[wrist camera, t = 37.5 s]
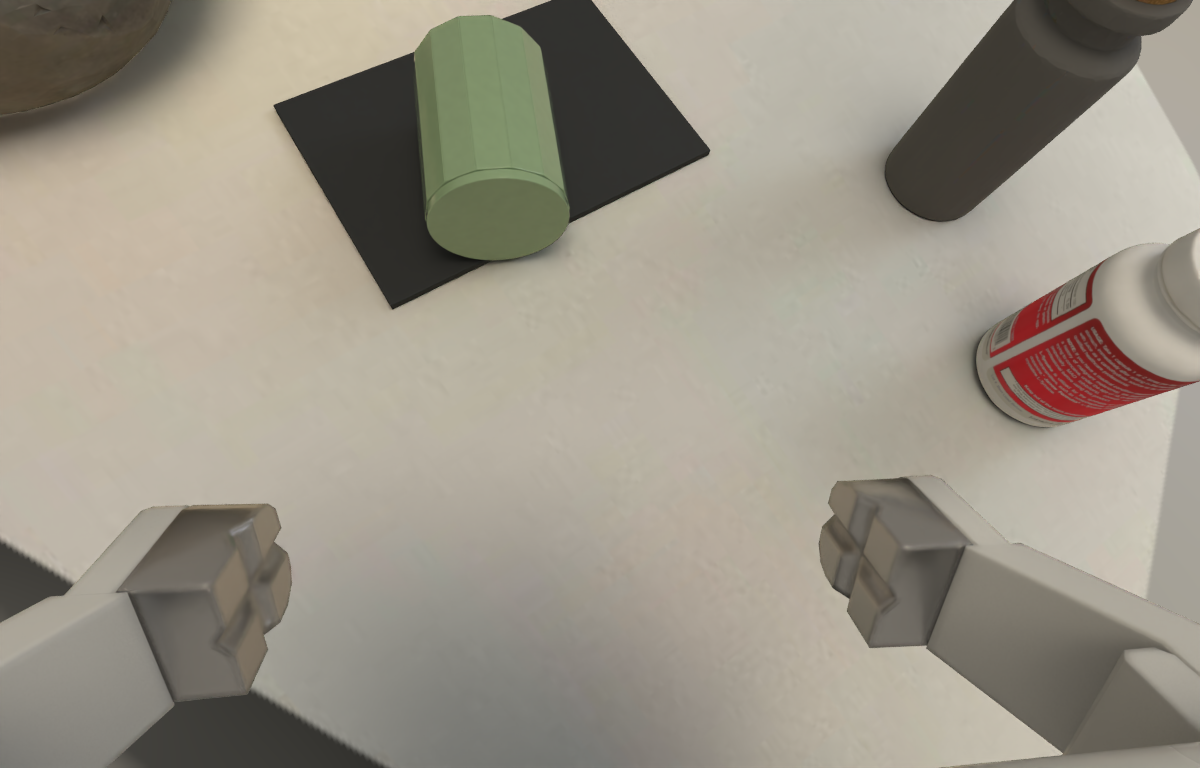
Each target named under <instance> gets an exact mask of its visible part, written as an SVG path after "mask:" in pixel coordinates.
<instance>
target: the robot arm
mask: <svg viewBox="0 0 1200 768" xmlns="http://www.w3.org/2000/svg"><path fill="white" fill-rule="evenodd" d="M828 504H829V506H830V507H831V509H832V511H833V512H834V515H833V516H832V517H831V518H830V519H829V520H828V521H827V522H826V523H825V524H824V525H823V526H822V530H821V535H820V540H819V552H820V562H821V565H822V568H823V571H824V574H825V576H826V578H827V579H828V581H829V583H830V584H831V586H832V588H834V589H835V590H837V591H838V592H840V593H841V594H843V595H844V596H846V597H847V598H849V603H848V608H847V612H848V614H849V615H850V617H851V619H852V620H853V622H854V624H855V625H856V627H857V628H858V630H859V632H860V633H861V635H862V636H863V638H864V640H865V641H866V643H867V644H868V646H869V648H880V647H902V646H924V645H927V647H926V649H928V650H929V651H930V652H932V653H933V654H934V655H936V656H937V657H938V658H940V659H941V660H942V661H943V662H945V663H946V664H947V665H949V666H950V667H951V668H953V669H954V670H955V671H957V672H958V673H959V674H960V675H962V676H963V677H964V678H966V679H967V680H968V681H970V682H971V683H972V684H973V685H975V686H976V687H977V688H979V689H980V690H981V691H983V692H984V693H985V694H987V695H988V696H989V697H990V698H992V699H993V700H994V701H996V702H997V703H998V704H1000V705H1001V706H1002V707H1004V708H1005V709H1006V710H1007V711H1009V712H1010V713H1011V714H1013V715H1014V716H1015V717H1017V718H1018V719H1019V720H1021V721H1022V722H1023V723H1024V724H1026V725H1027V726H1028V727H1030V728H1031V729H1032V730H1034V731H1035V732H1036V733H1037V734H1039V735H1040V736H1041V737H1043V738H1044V739H1045V740H1047V741H1048V742H1049V743H1051V744H1052V745H1053V746H1054V747H1056V748H1057V749H1058V750H1060V751H1061V752H1062V753H1063V754H1062V755H1061V756H1051V757H1041V758H1031V759H1021V760H1011V761H1001V762H991V763H981V764H971V765H960V766H951V767H941V768H1200V624H1199V623H1197V622H1194V621H1192V620H1190V619H1188V618H1185V617H1183V616H1181V615H1179V614H1177V613H1174V612H1172V611H1170V610H1168V609H1166V608H1163V607H1161V606H1159V605H1156V604H1154V603H1152V602H1150V601H1148V600H1146V599H1143V598H1141V597H1139V596H1137V595H1135V594H1132V593H1130V592H1128V591H1126V590H1123V589H1121V588H1119V587H1117V586H1115V585H1112V584H1110V583H1108V582H1106V581H1104V580H1101V579H1099V578H1097V577H1095V576H1092V575H1090V574H1088V573H1086V572H1084V571H1081V570H1079V569H1077V568H1075V567H1073V566H1070V565H1068V564H1066V563H1064V562H1061V561H1059V560H1057V559H1055V558H1053V557H1050V556H1048V555H1046V554H1044V553H1041V552H1039V551H1037V550H1035V549H1033V548H1030V547H1028V546H1026V545H1024V544H1022V543H1012V544H1011V543H1010V542H1008V541H1007V540H1006V539H1005V538H1004V537H1003V536H1002V535H1001V534H1000V533H999V532H998V531H997V530H996V529H995V528H994V527H992V526H991V525H990V524H989V523H988V522H987V521H986V520H985V519H984V518H983V517H982V516H981V515H980V514H979V513H977V512H976V511H975V510H974V509H973V508H972V507H971V506H970V505H969V504H968V503H967V502H966V501H965V500H964V499H963V498H961V497H960V496H959V495H958V494H957V493H956V492H955V491H954V490H953V489H952V488H951V487H950V486H949V485H948V484H946V483H945V482H944V481H943V480H942V479H940V478H938V477H935V476H933V475H923V476H909V477H900V478H894V479H873V480H852V481H837V483H836V484H835V485H834V487H833V488H832V490H831V494H830V497H829V501H828ZM280 529H281V525H280V522H279V518H278V515H277V512H276V509H275V508H274V507H272V506H271V505H269V504H225V505H192V506H186V505H185V506H158V507H151V508H148V509H145V510H142V511H141V512H140V513H139V514H138V515H137V516H136V517H135V518H134V519H133V520H132V522H131V523H130V524H129V525H128V526H127V527H126V528H125V529H124V530H123V531H122V533H121V534H120V535H119V536H118V537H117V538H116V539H115V540H114V541H113V542H112V544H111V545H110V546H109V547H108V548H107V549H106V550H105V551H104V552H103V553H102V555H101V556H100V557H99V558H98V559H97V560H96V561H95V562H94V563H93V564H92V566H91V567H90V568H89V569H88V570H87V571H86V572H85V573H84V574H83V575H82V577H81V578H80V579H79V580H78V581H77V582H76V583H75V584H74V585H73V586H72V588H71V589H70V590H69V591H68V592H67V593H66V594H65V595H64V596H52V597H48V598H46V599H44V600H42V601H41V602H39V603H37V604H35V605H33V606H31V607H30V608H27V609H25V610H24V611H22V612H20V613H18V614H16V615H14V616H12V617H10V618H9V619H7V620H5V621H3V622H1V623H0V768H107V767H108V766H109V765H110V764H111V763H112V762H113V761H114V760H115V759H116V758H117V757H118V756H120V755H121V754H122V753H123V752H124V751H125V750H126V749H127V748H128V747H130V746H131V745H132V744H133V743H134V742H135V741H136V740H137V739H138V738H139V737H140V736H142V735H143V734H144V733H145V732H146V731H147V730H148V729H149V728H150V727H151V726H153V725H154V724H155V723H156V722H157V721H158V720H159V719H160V718H161V717H162V716H164V715H165V714H166V713H167V712H168V711H169V710H170V709H171V708H172V707H173V706H174V702H177V701H187V700H196V699H207V698H216V697H226V696H235V695H246V694H248V692H249V690H250V688H251V686H252V683H253V681H254V679H255V677H256V675H257V673H258V670H259V668H260V666H261V664H262V662H263V660H264V657H265V655H266V653H267V651H268V648H267V644H266V641H265V637H264V635H265V634H266V633H267V632H269V631H270V630H271V629H272V628H274V627H275V626H276V625H278V624H279V623H280V622H281V620H282V618H283V615H284V613H285V611H286V608H287V606H288V602H289V596H290V591H291V585H292V576H291V564H290V560H289V556H288V553H287V552H286V551H285V550H283V549H282V548H281V547H280V546H279V545H277V544H276V543H275V542H274V541H275V539H276V537H277V535H278V533H279V531H280Z"/></svg>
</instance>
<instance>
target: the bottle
mask: <svg viewBox="0 0 1200 768" xmlns="http://www.w3.org/2000/svg"><path fill="white" fill-rule="evenodd" d="M1192 1H1193V0H1014V1H1013V2H1012V3H1011V4H1010V6H1009V7H1008V8H1007V9H1006V10H1005V11H1004V13H1003V14H1002V15H1001V16H1000V18H999V19H998V20H997V21H996V23H995V24H994V25H993V26H992V27H991V29H990V30H989V31H988V32H987V34H986V35H985V36H984V37H983V39H982V40H981V41H980V42H979V43H978V45H977V46H976V47H975V48H974V50H973V51H972V52H971V53H970V55H969V56H968V57H967V58H966V59H965V61H964V62H963V63H962V64H961V66H960V67H959V68H958V69H957V71H956V72H955V73H954V74H953V76H952V77H951V78H950V79H949V81H948V82H947V83H946V84H945V86H944V87H943V88H942V89H941V90H940V92H939V93H938V94H937V95H936V97H935V98H934V99H933V100H932V102H931V103H930V104H929V105H928V107H927V108H926V109H925V110H924V112H923V113H922V114H921V115H920V117H919V118H918V119H917V120H916V122H915V123H914V124H913V125H912V126H911V128H910V129H909V130H908V131H907V133H906V134H905V135H904V136H903V138H902V139H901V140H900V141H899V143H898V144H897V145H896V147H895V148H894V149H893V151H892V152H891V154H890V155H889V157H888V159H887V163H886V169H885V172H886V179H887V182H888V185H889V187H890V190H891V191H892V193H893V195H894V196H895V197H896V198H897V199H898V201H899V202H900V203H901V204H902V205H904V206H905V207H906V208H907V209H909V210H910V211H912V212H913V213H915V214H917V215H919V216H922V217H925V218H928V219H931V220H936V221H949V220H954V219H957V218H960V217H962V216H964V215H965V214H967V213H968V212H969V211H971V210H972V209H973V208H974V207H976V206H977V205H978V204H979V203H980V202H981V201H983V200H984V199H985V198H986V197H987V196H988V195H990V194H991V193H992V192H993V191H994V190H996V189H997V188H998V187H999V186H1000V185H1001V184H1003V183H1004V182H1005V181H1006V180H1007V179H1008V178H1009V177H1011V176H1012V175H1013V174H1014V173H1015V172H1016V171H1018V170H1019V169H1020V168H1021V167H1022V166H1023V165H1024V164H1026V163H1027V162H1028V161H1029V160H1030V159H1031V158H1032V157H1034V156H1035V155H1036V154H1037V153H1038V152H1039V151H1040V150H1042V149H1043V148H1044V147H1045V146H1046V145H1047V144H1048V143H1050V142H1051V141H1052V140H1053V139H1054V138H1055V137H1056V136H1058V135H1059V134H1060V133H1061V132H1062V131H1063V130H1064V129H1066V128H1067V127H1068V126H1069V125H1070V124H1071V123H1072V122H1074V121H1075V120H1076V119H1077V118H1078V117H1079V116H1080V115H1082V114H1083V113H1084V112H1085V111H1086V110H1087V109H1088V108H1090V107H1091V106H1092V105H1093V104H1094V103H1095V102H1096V101H1098V100H1099V99H1100V98H1101V97H1102V96H1103V95H1104V94H1106V93H1107V92H1108V91H1109V90H1110V89H1111V88H1112V87H1113V86H1114V85H1116V84H1117V83H1118V82H1119V81H1120V80H1121V79H1122V78H1123V77H1124V76H1126V75H1127V74H1128V73H1129V72H1130V71H1131V70H1132V68H1133V67H1134V66H1135V64H1136V63H1137V61H1138V59H1139V56H1140V52H1141V36H1144V35H1151V34H1154V33H1157V32H1160V31H1162V30H1163V29H1165V28H1166V27H1168V26H1169V25H1170V24H1172V23H1173V22H1174V21H1175V20H1176V19H1177V18H1178V17H1179V16H1180V15H1181V14H1183V12H1184V11H1186V9H1187V8H1188V7H1189V6H1190V5H1191V3H1192Z"/></svg>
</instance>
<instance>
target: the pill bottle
mask: <svg viewBox="0 0 1200 768" xmlns="http://www.w3.org/2000/svg"><path fill="white" fill-rule="evenodd" d="M976 364H977V371H978V375H979V378H980V381H981V383H982V385H983V387H984V389H985V391H986V393H987V395H988V396H989V397H990V399H991V400H992V401H993V402H994V403H995V405H996V406H998V407H999V408H1000V409H1001V410H1002V411H1004V412H1005V413H1006V414H1008V415H1009V416H1011V417H1013V418H1015V419H1017V420H1019V421H1021V422H1023V423H1026V424H1029V425H1033V426H1038V427H1054V426H1060V425H1064V424H1067V423H1071V422H1074V421H1077V420H1080V419H1083V418H1086V417H1089V416H1093V415H1096V414H1099V413H1102V412H1105V411H1108V410H1111V409H1115V408H1118V407H1121V406H1124V405H1127V404H1130V403H1133V402H1136V401H1139V400H1143V399H1146V398H1148V397H1152V396H1155V395H1158V394H1161V393H1164V392H1167V391H1171V390H1174V389H1177V388H1180V387H1183V386H1186V385H1189V384H1192V383H1196V382H1199V381H1200V228H1199V229H1197V230H1195V231H1193V232H1191V233H1189V234H1187V235H1185V236H1183V237H1181V238H1179V239H1177V240H1176V241H1174V242H1173V243H1172V244H1164V243H1148V244H1141V245H1136V246H1133V247H1129V248H1127V249H1124V250H1122V251H1120V252H1118V253H1116V254H1114V255H1113V256H1111V257H1109V258H1107V259H1105V260H1104V261H1102V262H1101V263H1099V264H1097V265H1096V266H1094V267H1092V268H1090V269H1089V270H1087V271H1086V272H1084V273H1082V274H1080V275H1079V276H1077V277H1075V278H1074V279H1072V280H1070V281H1068V282H1067V283H1065V284H1063V285H1061V286H1060V287H1058V288H1056V289H1055V290H1053V291H1051V292H1050V293H1048V294H1046V295H1045V296H1043V297H1041V298H1039V299H1038V300H1036V301H1034V302H1033V303H1031V304H1029V305H1028V306H1026V307H1024V308H1023V309H1021V310H1019V311H1018V312H1016V313H1014V314H1012V315H1010V316H1009V317H1007V318H1005V319H1004V320H1002V321H1000V322H999V323H997V324H996V325H994V326H993V327H992V328H990V329H989V330H988V331H987V332H986V334H985V335H984V336H983V338H982V339H981V341H980V344H979V346H978V349H977V355H976Z"/></svg>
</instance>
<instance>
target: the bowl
mask: <svg viewBox="0 0 1200 768" xmlns="http://www.w3.org/2000/svg"><path fill="white" fill-rule="evenodd" d="M170 2H171V0H0V115H2V114H9V113H16V112H24V111H27V110H31V109H35V108H39V107H43V106H46V105H49V104H52V103H55V102H58V101H61V100H64V99H67V98H70V97H73V96H76V95H78V94H80V93H82V92H84V91H86V90H88V89H90V88H92V87H94V86H96V85H97V84H99V83H101V82H102V81H104V80H106V79H107V78H109V77H111V76H112V75H114V74H115V73H116V72H118V71H119V70H120V69H122V68H123V67H124V66H125V65H126V64H127V63H128V62H129V61H130V60H131V59H132V58H133V57H134V56H136V55H137V54H138V53H139V52H140V50H141V49H142V48H143V47H144V46H145V45H146V44H147V43H148V42H149V40H150V39H151V38H152V37H153V36H154V35H155V34H156V33H157V31H158V29H159V27H160V25H161V23H162V21H163V19H164V18H165V16H166V14H167V12H168V9H169V5H170Z"/></svg>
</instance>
